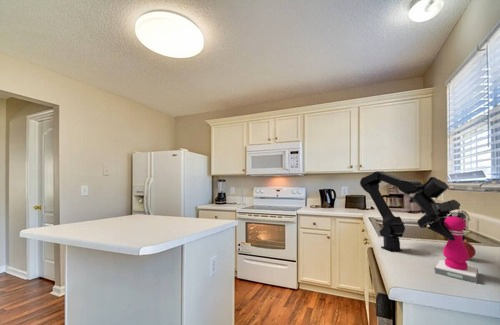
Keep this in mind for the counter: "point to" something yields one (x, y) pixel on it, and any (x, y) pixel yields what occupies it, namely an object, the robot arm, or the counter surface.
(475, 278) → the kitchen scale
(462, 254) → the pepper mill
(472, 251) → the onion
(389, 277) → the counter surface
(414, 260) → the counter surface
